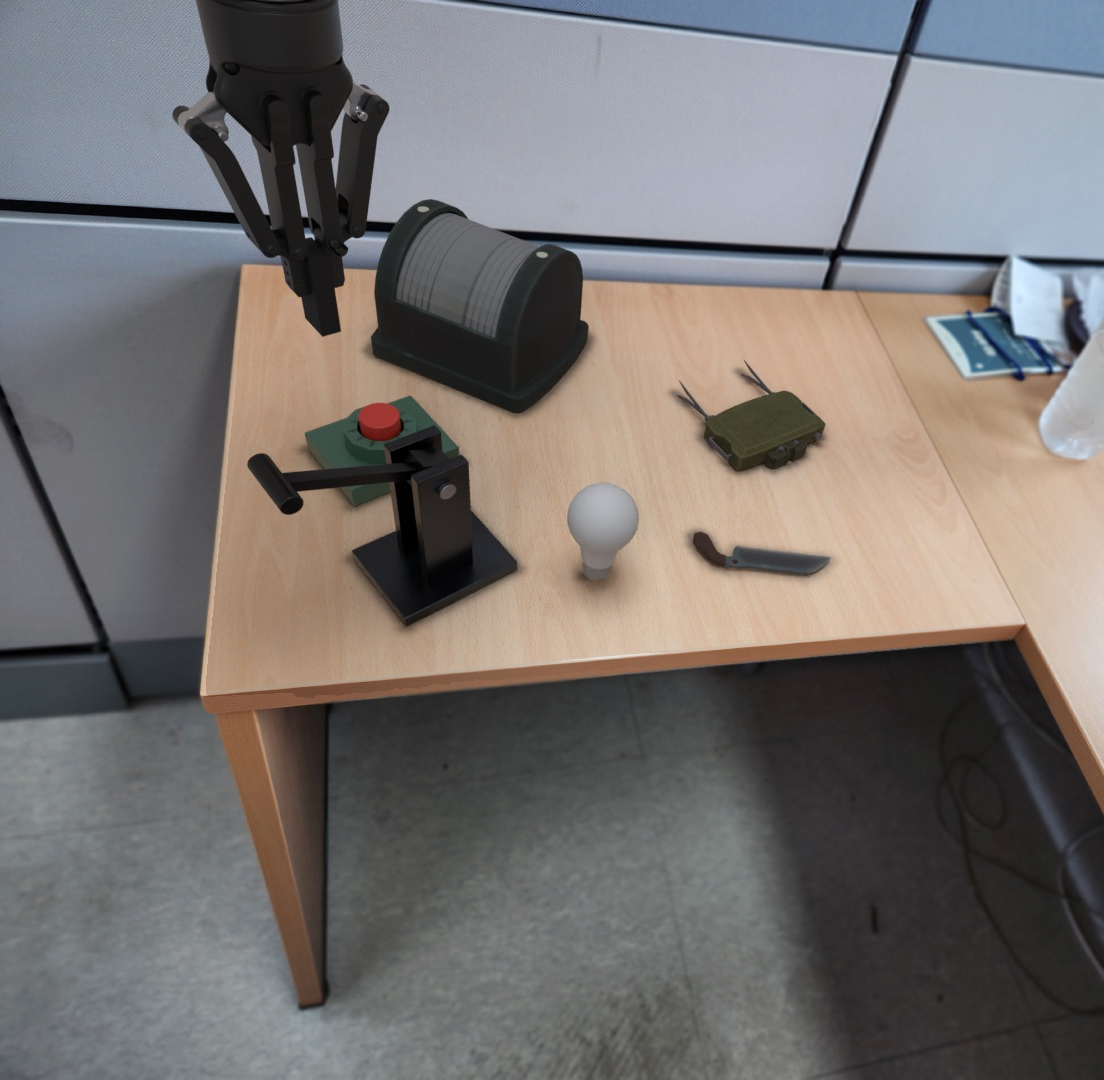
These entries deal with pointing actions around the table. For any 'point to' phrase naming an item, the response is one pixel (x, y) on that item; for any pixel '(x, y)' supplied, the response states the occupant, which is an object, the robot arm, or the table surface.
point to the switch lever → (334, 476)
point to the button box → (368, 445)
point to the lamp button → (379, 422)
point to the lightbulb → (602, 526)
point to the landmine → (761, 428)
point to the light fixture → (477, 307)
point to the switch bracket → (431, 537)
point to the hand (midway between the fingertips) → (323, 324)
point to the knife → (759, 558)
